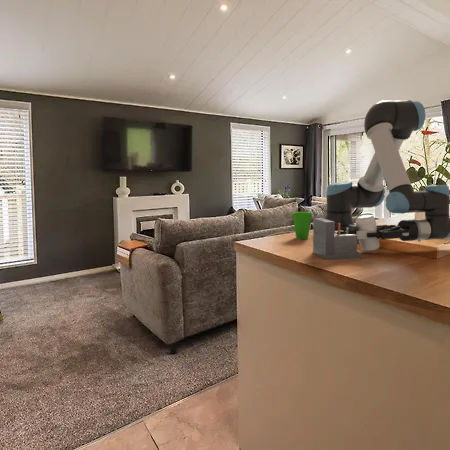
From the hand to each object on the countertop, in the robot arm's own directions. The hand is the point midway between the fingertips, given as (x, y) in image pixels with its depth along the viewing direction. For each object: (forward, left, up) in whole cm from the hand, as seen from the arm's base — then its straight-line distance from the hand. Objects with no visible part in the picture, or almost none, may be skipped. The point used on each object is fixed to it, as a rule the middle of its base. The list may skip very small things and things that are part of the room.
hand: (351, 233), depth 122 cm
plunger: (+3, -1, -4) cm, 5 cm away
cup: (-14, -30, -7) cm, 34 cm away
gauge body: (+5, -3, -7) cm, 9 cm away
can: (-6, +4, -6) cm, 9 cm away
